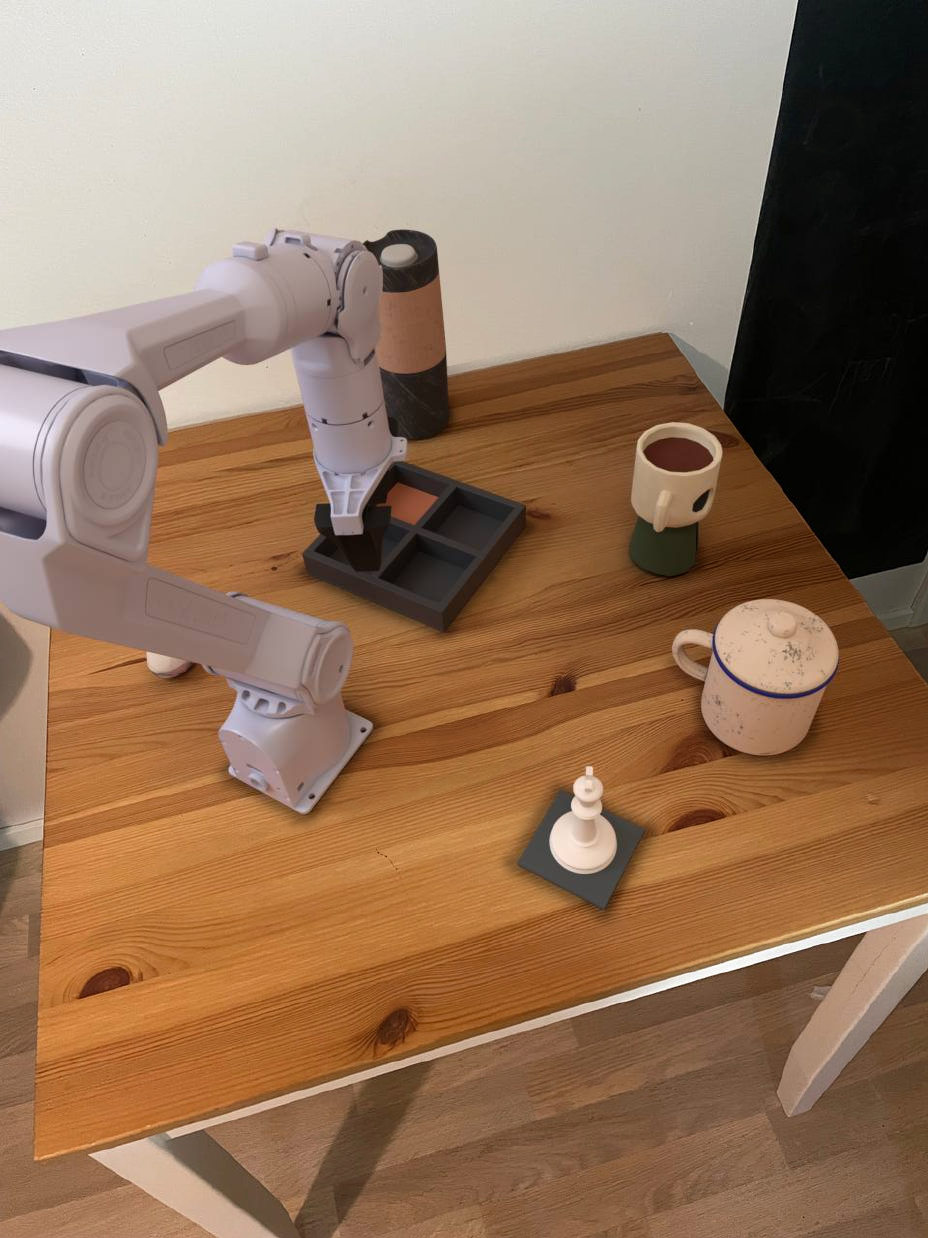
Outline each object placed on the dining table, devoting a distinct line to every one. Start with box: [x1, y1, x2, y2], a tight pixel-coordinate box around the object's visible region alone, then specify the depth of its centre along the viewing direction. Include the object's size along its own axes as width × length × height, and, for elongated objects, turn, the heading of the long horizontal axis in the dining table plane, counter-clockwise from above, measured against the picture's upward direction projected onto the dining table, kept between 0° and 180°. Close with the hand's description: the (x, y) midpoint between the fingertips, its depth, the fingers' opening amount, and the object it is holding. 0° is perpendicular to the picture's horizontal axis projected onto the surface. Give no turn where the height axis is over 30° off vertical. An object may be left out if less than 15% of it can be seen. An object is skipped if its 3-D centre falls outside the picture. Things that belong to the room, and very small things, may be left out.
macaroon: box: [146, 651, 194, 679], centre depth 81 cm, size 4×5×2 cm
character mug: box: [628, 421, 723, 577], centre depth 82 cm, size 11×7×13 cm, turn 158°
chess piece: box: [550, 765, 617, 874], centre depth 64 cm, size 5×5×10 cm
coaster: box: [516, 789, 646, 911], centre depth 68 cm, size 7×7×1 cm
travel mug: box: [362, 228, 450, 441], centre depth 95 cm, size 8×8×20 cm
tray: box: [301, 461, 527, 633], centre depth 88 cm, size 15×15×3 cm
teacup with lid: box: [671, 598, 840, 756], centre depth 71 cm, size 12×9×12 cm
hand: (371, 533), depth 76 cm, fingers open, 7 cm apart
